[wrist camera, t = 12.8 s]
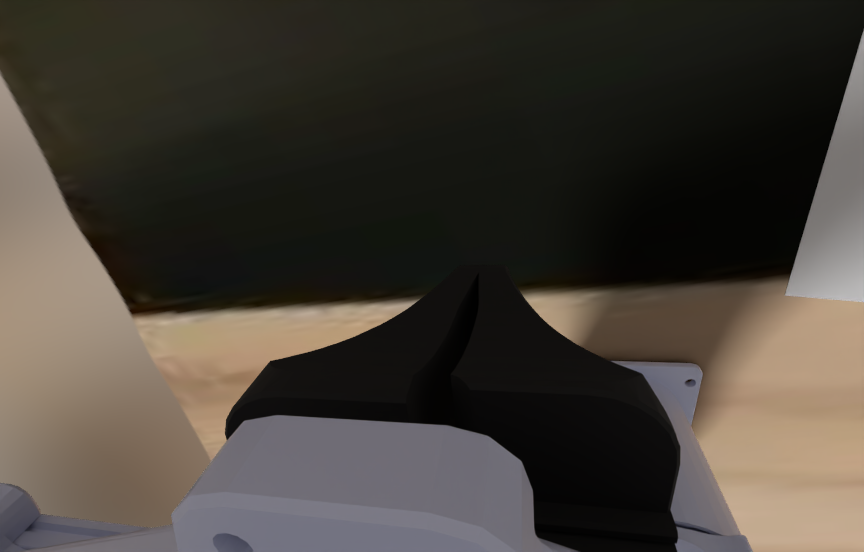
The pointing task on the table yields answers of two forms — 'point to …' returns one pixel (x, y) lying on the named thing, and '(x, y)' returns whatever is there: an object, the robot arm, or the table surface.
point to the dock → (837, 208)
